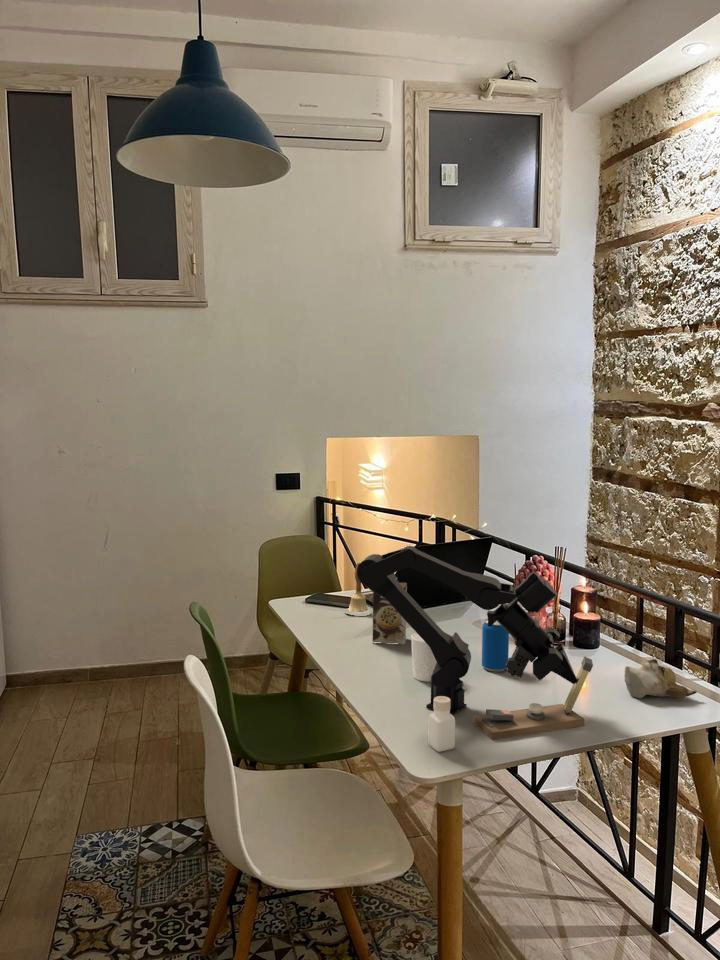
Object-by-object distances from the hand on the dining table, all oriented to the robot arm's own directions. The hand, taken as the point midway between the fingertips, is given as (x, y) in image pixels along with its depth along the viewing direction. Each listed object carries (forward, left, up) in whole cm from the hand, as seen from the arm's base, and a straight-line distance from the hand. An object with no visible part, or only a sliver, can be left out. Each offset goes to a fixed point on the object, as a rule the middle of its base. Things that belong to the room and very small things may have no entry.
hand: (575, 682), depth 154 cm
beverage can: (-28, +15, -8) cm, 33 cm away
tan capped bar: (-1, -1, -6) cm, 6 cm away
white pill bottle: (-13, -29, -8) cm, 33 cm away
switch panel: (-6, -8, -8) cm, 13 cm away
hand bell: (-86, +29, -8) cm, 92 cm away
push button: (-5, -7, -6) cm, 11 cm away
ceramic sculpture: (+8, +25, -8) cm, 27 cm away
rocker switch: (-9, -15, -6) cm, 18 cm away
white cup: (-37, -1, -8) cm, 38 cm away
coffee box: (-61, +14, -8) cm, 64 cm away
